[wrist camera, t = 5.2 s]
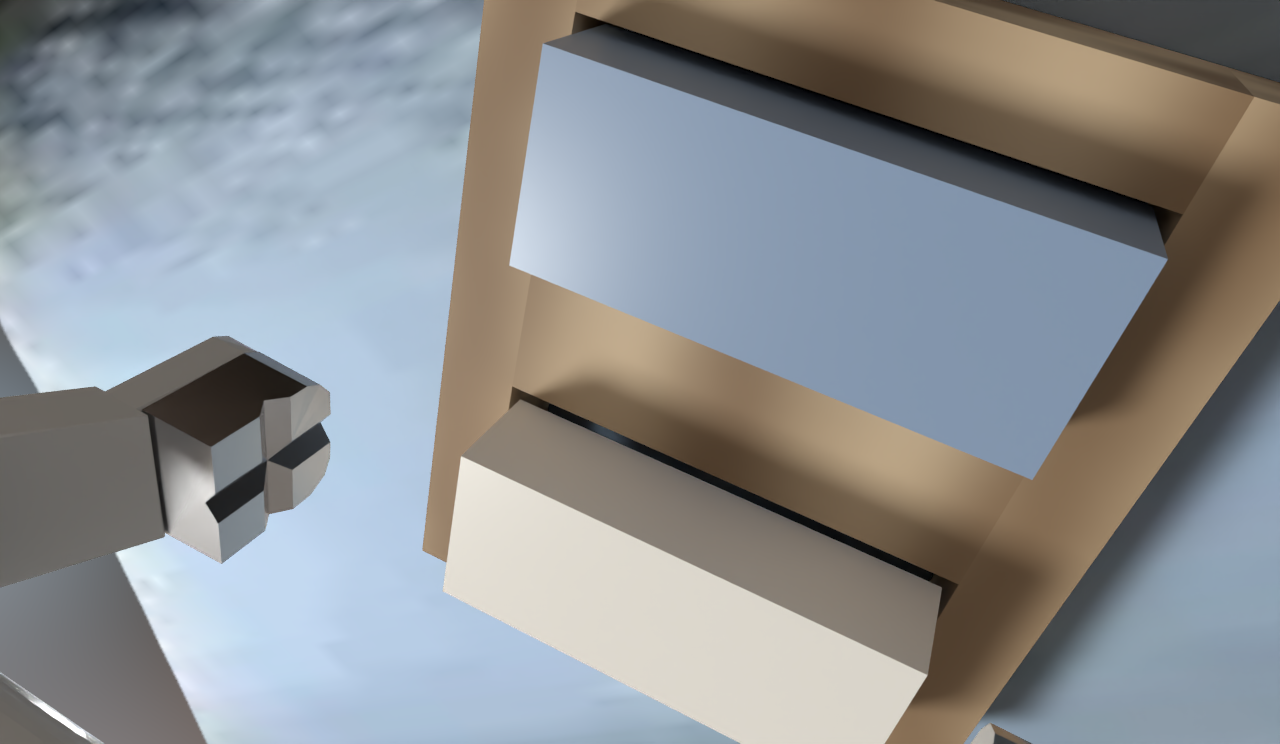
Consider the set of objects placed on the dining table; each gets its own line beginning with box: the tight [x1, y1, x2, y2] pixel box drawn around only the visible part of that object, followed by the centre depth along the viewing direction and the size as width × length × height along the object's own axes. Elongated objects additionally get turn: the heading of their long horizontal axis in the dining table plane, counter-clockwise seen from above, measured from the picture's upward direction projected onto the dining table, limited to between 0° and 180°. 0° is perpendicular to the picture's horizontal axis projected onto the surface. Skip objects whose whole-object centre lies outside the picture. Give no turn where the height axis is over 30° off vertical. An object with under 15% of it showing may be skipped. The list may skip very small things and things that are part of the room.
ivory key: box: [443, 399, 942, 744], centre depth 23 cm, size 12×5×3 cm, turn 77°
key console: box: [423, 0, 1280, 744], centre depth 23 cm, size 17×20×3 cm
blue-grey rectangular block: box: [509, 24, 1168, 480], centre depth 19 cm, size 12×5×3 cm, turn 77°
